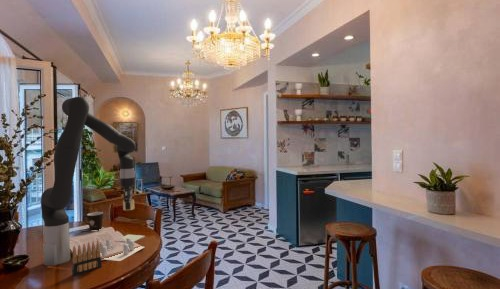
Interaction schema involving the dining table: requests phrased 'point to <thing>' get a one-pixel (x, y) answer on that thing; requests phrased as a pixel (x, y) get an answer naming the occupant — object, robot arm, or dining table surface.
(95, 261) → the ammunition clip
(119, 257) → the spacer plate
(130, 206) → the brass nut
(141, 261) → the dining table surface
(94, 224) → the coffee mug
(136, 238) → the rubber mat
